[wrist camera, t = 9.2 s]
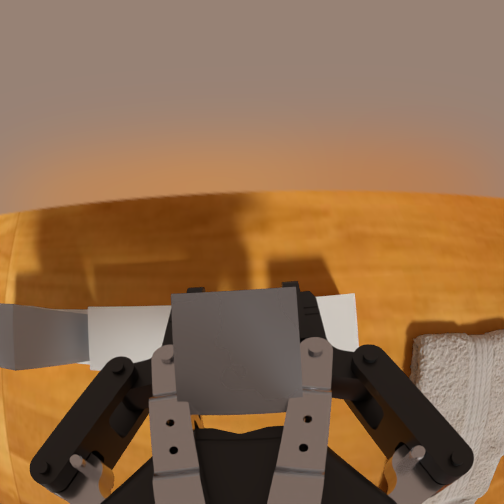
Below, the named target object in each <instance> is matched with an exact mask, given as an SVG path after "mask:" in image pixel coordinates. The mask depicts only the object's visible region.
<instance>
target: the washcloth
mask: <svg viewBox="0 0 504 504" xmlns="http://www.w3.org/2000/svg"><path fill="white" fill-rule="evenodd" d="M413 340H414V344H413V356H412V364H411V366H410V368H411V375H410V377H409V378H410V380H411V381H412V382H413V383H414V384H415V386H416V387H417V388H418V389H419V390H420V391H421V392H422V393H423V394H424V395H425V397H426V398H427V399H428V400H429V401H430V402H431V403H432V404H433V405H434V407H435V408H436V409H437V410H438V411H439V412H440V413H441V414H442V416H443V417H444V418H445V419H446V420H447V421H448V422H449V423H450V425H451V426H452V427H453V428H454V429H455V430H456V431H457V433H458V434H459V435H460V436H461V437H462V438H463V439H464V441H465V442H466V443H467V444H468V445H469V446H470V448H471V449H472V451H473V454H474V462H473V465H472V467H471V469H470V470H469V471H468V472H467V473H466V474H465V475H463V476H462V477H460V478H459V479H458V480H456V481H455V482H454V483H452V484H451V485H449V486H448V487H446V488H445V489H444V490H442V491H441V492H439V493H438V494H436V495H435V496H433V497H431V498H428V499H427V500H426V501H425V502H423V503H422V504H474V503H475V501H476V500H477V498H480V497H482V496H483V495H484V494H485V493H486V492H487V490H488V488H489V485H490V482H491V480H492V478H493V474H494V472H495V470H496V467H497V465H498V463H499V460H500V458H501V456H503V455H504V329H502V330H495V331H491V332H488V333H485V334H484V335H467V334H466V333H450V334H449V333H444V334H424V335H419V336H417V338H415V339H413Z"/></svg>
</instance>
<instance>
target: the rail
mask: <svg viewBox="0 0 504 504" xmlns="http://www.w3.org/2000/svg"><path fill="white" fill-rule="evenodd" d="M316 299H317V303H318V308H319V311H320V315H321V318H322V322H323V326H324V330H325V334H326V338H327V340H328V342H329V343H330V344H331V345H332V346H333V347H335V348H337V349H340V350H344V351H351V352H354V351H355V350H356V349H357V348H358V347H359V343H358V328H357V315H356V303H355V293H353V294H342V295H331V296H320V297H316ZM170 311H171V305H167V306H122V307H88V309H49V308H42V307H35V306H22V305H16V304H0V367H1V368H6V369H11V370H25V369H34V368H42V367H50V366H58V365H65V364H72V363H80V364H90V370H99V371H101V370H102V368H103V367H104V366H105V365H106V363H107V362H108V361H110V360H111V359H113V358H115V357H120V356H124V357H127V358H129V359H131V360H132V362H133V363H136V362H140V361H144V360H148V359H150V358H152V355H153V353H154V352H155V351H156V350H157V349H158V348H160V347H162V343H163V339H164V335H165V331H166V327H167V323H168V319H169V316H170Z"/></svg>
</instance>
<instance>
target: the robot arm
mask: <svg viewBox="0 0 504 504" xmlns="http://www.w3.org/2000/svg"><path fill="white" fill-rule="evenodd" d="M284 287H296V295H297V308H298V322H299V337H300V353H301V370H302V390H303V397H297V398H289V401H288V407H287V412H286V418H285V423H284V426H273V427H265V428H262V429H258V430H255V431H251V432H247V433H243V434H237V433H232V432H227V431H222V430H218V429H214V428H204V425H203V420H202V415H192V414H191V410H190V406H189V403H188V402H177V394H176V382H175V368H174V353H173V334H172V310H171V311H170V316H169V319H168V323H167V327H166V331H165V335H164V339H163V343H162V347H160V348H158V349H157V350H156V351H155V352H154V353H153V355H152V358H150V359H148V360H144V361H140V362H136V363H133V362H132V360H131V359H129V358H127V357H124V356H120V357H115V358H113V359H111V360H110V361H108V362H107V363H106V365H105V366H104V367H103V368H102V370H101V371H100V372H99V373H98V375H97V376H96V377H95V378H94V380H93V381H92V382H91V383H90V385H89V386H88V387H87V388H86V390H85V391H84V392H83V393H82V395H81V396H80V397H79V399H78V400H77V401H76V402H75V404H74V405H73V406H72V408H71V409H70V410H69V411H68V413H67V414H66V415H65V417H64V418H63V419H62V420H61V422H60V423H59V424H58V426H57V427H56V428H55V430H54V431H53V432H52V434H51V435H50V436H49V438H48V439H47V440H46V442H45V443H44V444H43V446H42V447H41V448H40V450H39V451H38V452H37V454H36V455H35V456H34V458H33V459H32V461H31V463H30V474H31V476H32V478H33V479H34V480H35V481H36V482H37V483H39V484H41V485H42V486H44V487H45V488H46V489H47V490H49V491H50V492H52V493H54V494H55V495H57V496H59V497H61V498H62V499H64V500H66V501H68V502H69V503H70V504H422V503H423V502H425V501H426V500H427V499H428V498H431V497H433V496H435V495H436V494H438V493H439V492H441V491H442V490H444V489H445V488H446V487H448V486H449V485H451V484H452V483H454V482H455V481H456V480H458V479H459V478H460V477H462V476H463V475H465V474H466V473H467V472H468V471H469V470H470V469H471V467H472V465H473V462H474V454H473V451H472V449H471V448H470V446H469V445H468V444H467V443H466V442H465V441H464V439H463V438H462V437H461V436H460V435H459V434H458V433H457V431H456V430H455V429H454V428H453V427H452V426H451V425H450V423H449V422H448V421H447V420H446V419H445V418H444V417H443V416H442V414H441V413H440V412H439V411H438V410H437V409H436V408H435V407H434V405H433V404H432V403H431V402H430V401H429V400H428V399H427V398H426V397H425V395H424V394H423V393H422V392H421V391H420V390H419V389H418V388H417V387H416V386H415V384H414V383H413V382H412V381H411V380H410V379H409V378H408V377H407V376H406V375H405V373H404V372H403V371H402V370H401V369H400V368H399V367H398V366H397V365H396V364H395V363H394V362H393V360H392V359H391V358H390V357H389V356H388V355H387V354H386V353H385V352H384V351H383V350H382V349H381V348H379V347H378V346H375V345H362V346H360V347H358V348H357V349H356V350H355V351H354V352H351V351H344V350H340V349H337V348H335V347H333V346H332V345H331V344H330V343H329V342H328V340H327V338H326V334H325V330H324V326H323V322H322V318H321V315H320V311H319V308H318V303H317V299H316V297H315V296H314V295H313V294H312V293H311V292H310V291H304V292H300V289H299V284H298V281H291V282H282V288H284ZM202 292H205V288H204V287H195V288H188V290H187V293H202ZM332 398H338V399H344V401H345V402H346V404H347V405H348V406H349V408H350V409H351V410H352V412H353V413H354V414H355V416H356V417H357V418H358V420H359V421H360V422H361V424H362V425H363V426H364V428H365V429H366V431H367V432H368V433H369V435H370V436H371V437H372V439H373V440H374V441H375V443H376V444H377V445H378V447H379V448H380V449H381V451H382V452H383V453H384V455H385V456H386V457H387V459H388V462H387V463H386V465H385V467H384V476H385V478H386V480H387V482H388V491H387V494H386V493H384V492H383V491H382V490H381V489H379V488H378V487H377V486H375V485H374V484H373V483H372V482H370V481H369V480H368V479H366V478H365V477H364V476H363V475H361V474H360V473H359V472H358V471H357V470H355V469H354V468H353V467H352V466H350V465H349V464H348V463H347V462H346V461H344V460H343V459H342V458H341V457H340V456H338V455H337V454H336V453H335V452H334V451H333V450H331V449H330V448H329V447H328V446H327V444H328V434H329V424H330V412H331V399H332ZM148 414H149V416H150V431H151V444H152V455H153V456H152V457H151V458H150V459H149V460H148V461H147V462H146V463H145V464H144V465H143V466H141V467H140V468H139V469H138V470H137V471H136V472H135V473H134V474H133V475H132V476H131V477H130V478H128V479H127V480H126V481H125V482H124V483H123V484H122V485H121V486H120V487H118V488H117V489H116V490H115V491H114V492H113V493H112V494H111V489H112V488H113V486H114V474H113V472H112V469H113V468H114V466H115V465H116V463H117V462H118V460H119V458H120V457H121V455H122V454H123V452H124V451H125V449H126V448H127V446H128V445H129V443H130V442H131V440H132V439H133V437H134V436H135V434H136V432H137V431H138V429H139V428H140V426H141V425H142V423H143V422H144V420H145V419H146V417H147V416H148Z"/></svg>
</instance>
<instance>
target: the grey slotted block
mask: <svg viewBox="0 0 504 504" xmlns="http://www.w3.org/2000/svg"><path fill="white" fill-rule="evenodd" d="M171 310H172V334H173V353H174V368H175V382H176V394H177V402H188V403H189V406H190V410H191V414H192V415H243V414H264V413H279V412H287V407H288V401H289V398H297V397H303V390H302V370H301V353H300V337H299V322H298V308H297V295H296V287H284V288H270V289H255V290H239V291H221V292H202V293H181V294H171Z"/></svg>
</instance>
